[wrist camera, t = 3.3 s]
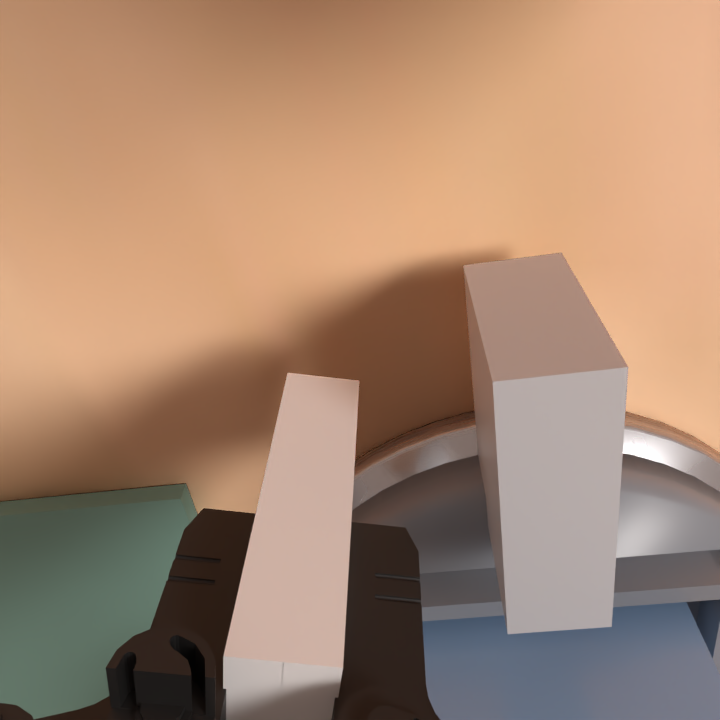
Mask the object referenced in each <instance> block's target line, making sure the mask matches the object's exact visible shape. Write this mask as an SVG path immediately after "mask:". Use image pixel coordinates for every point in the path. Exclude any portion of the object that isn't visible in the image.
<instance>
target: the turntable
mask: <svg viewBox="0 0 720 720" xmlns="http://www.w3.org/2000/svg"><path fill="white" fill-rule="evenodd" d="M463 269H464V282H465V294H466V307H467V320H468V333H469V346H470V359H471V371H472V384H473V397H474V410H475V423H476V436H477V449H478V455H476V456H472V457H468V458H464V459H460V460H456V461H452V462H448V463H445V464H442V465H439V466H436V467H434V468H431V469H428V470H426V471H423V472H420V473H417V474H415V475H412V476H410V477H408V478H406V479H404V480H402V481H400V482H398V483H396V484H394V485H392V486H390V487H388V488H386V489H384V490H382V491H380V492H379V493H377V494H376V495H374V496H373V497H371V498H370V499H368V500H367V501H365V502H364V503H362V504H360V505H359V506H357V507H356V508H355V509H353V510H352V520H351V522H357V523H367V524H377V525H386V526H396V527H406V529H407V531H408V533H409V535H410V537H411V538H412V540H413V542H414V544H415V546H416V548H417V549H418V551H419V568H420V586H421V604H422V621H435V620H448V619H462V618H475V617H489V616H502V615H504V617H505V623H506V628H507V634H518V633H532V632H546V631H560V630H574V629H588V628H602V627H612V614H613V607H624V606H638V605H652V604H665V603H679V602H687V604H688V607H689V609H690V611H691V613H692V615H693V617H694V620H695V622H696V624H697V626H698V628H699V630H700V633H701V635H702V637H703V639H704V641H705V643H706V646H707V648H708V650H709V652H710V654H711V656H712V658H713V661H714V663H715V665H716V667H717V669H718V671H719V674H720V492H719V491H718V490H716V489H714V488H713V487H711V486H709V485H708V484H706V483H704V482H703V481H701V480H699V479H698V478H696V477H694V476H692V475H690V474H687V473H685V472H682V471H680V470H678V469H675V468H673V467H671V466H668V465H666V464H663V463H659V462H656V461H652V460H649V459H645V458H642V457H638V456H635V455H631V454H625V453H623V441H624V425H625V409H626V393H627V378H628V366H627V364H626V363H625V361H624V359H623V357H622V356H621V354H620V352H619V351H618V349H617V347H616V345H615V344H614V342H613V340H612V338H611V337H610V335H609V333H608V332H607V330H606V328H605V326H604V325H603V323H602V321H601V320H600V318H599V316H598V314H597V313H596V311H595V309H594V308H593V306H592V304H591V302H590V301H589V299H588V297H587V296H586V294H585V292H584V290H583V289H582V287H581V285H580V284H579V282H578V280H577V278H576V277H575V275H574V273H573V271H572V270H571V268H570V266H569V265H568V263H567V261H566V259H565V258H564V256H563V254H562V253H556V254H548V255H540V256H532V257H524V258H516V259H508V260H500V261H492V262H485V263H477V264H469V265H463Z"/></svg>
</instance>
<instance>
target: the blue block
mask: <svg viewBox="0 0 720 720" xmlns="http://www.w3.org/2000/svg"><path fill="white" fill-rule="evenodd" d="M422 622H423V639H424V657H425V675H426V687H427V692H428V698H429V700H430V702H431V705H432V707H433V709H434V711H435V713H436V714H437V716H438V717H439V718H440V720H720V674H719V671H718V669H717V667H716V665H715V663H714V661H713V658H712V656H711V654H710V652H709V650H708V648H707V646H706V643H705V641H704V639H703V637H702V635H701V633H700V630H699V628H698V626H697V624H696V622H695V620H694V617H693V615H692V613H691V611H690V609H689V607H688V604H687V602H679V603H665V604H652V605H638V606H624V607H613V614H612V627H602V628H588V629H574V630H560V631H546V632H532V633H518V634H507V628H506V623H505V617H504V615H502V616H489V617H475V618H462V619H448V620H435V621H422Z"/></svg>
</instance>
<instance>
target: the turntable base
mask: <svg viewBox="0 0 720 720" xmlns="http://www.w3.org/2000/svg"><path fill="white" fill-rule="evenodd" d="M623 453H625V454H631V455H635V456H638V457H642V458H645V459H649V460H652V461H656V462H659V463H663V464H666V465H668V466H671V467H673V468H675V469H678V470H680V471H682V472H685V473H687V474H690V475H692V476H694V477H696V478H698V479H699V480H701V481H703V482H704V483H706V484H708V485H709V486H711V487H713V488H714V489H716V490H718V491H719V492H720V453H719V452H718V451H716V450H714V449H713V448H711V447H710V446H708V445H706V444H705V443H703V442H702V441H700V440H698V439H697V438H695V437H694V436H692V435H690V434H687V433H685V432H683V431H680V430H678V429H676V428H674V427H671V426H669V425H667V424H665V423H662V422H659V421H656V420H653V419H649V418H646V417H642V416H639V415H635V414H632V413H629V412H625V425H624V441H623ZM476 455H478V449H477V436H476V423H475V411H474V412H469V413H466V414H462V415H458V416H454V417H451V418H447V419H443V420H439V421H436V422H433V423H431V424H428V425H425V426H423V427H420V428H418V429H415V430H412V431H410V432H407V433H405V434H402V435H400V436H398V437H396V438H394V439H392V440H390V441H388V442H387V443H385V444H383V445H381V446H379V447H377V448H375V449H373V450H371V451H370V452H368V453H367V454H365V455H364V456H362V457H361V458H359V459H358V460H357V461H355V467H354V485H353V502H352V510H353V509H355V508H356V507H357V506H359V505H360V504H362V503H364V502H365V501H367V500H368V499H370V498H371V497H373V496H374V495H376V494H377V493H379V492H380V491H382V490H384V489H386V488H388V487H390V486H392V485H394V484H396V483H398V482H400V481H402V480H404V479H406V478H408V477H410V476H412V475H415V474H417V473H420V472H423V471H426V470H428V469H431V468H434V467H436V466H439V465H442V464H445V463H448V462H452V461H456V460H460V459H464V458H468V457H472V456H476Z"/></svg>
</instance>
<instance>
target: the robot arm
mask: <svg viewBox="0 0 720 720" xmlns="http://www.w3.org/2000/svg"><path fill="white" fill-rule="evenodd" d="M358 397H359V380H350V379H341V378H332V377H323V376H314V375H305V374H296V373H287V377H286V382H285V386H284V391H283V395H282V400H281V404H280V408H279V413H278V417H277V422H276V426H275V430H274V435H273V439H272V444H271V448H270V453H269V457H268V461H267V466H266V470H265V475H264V479H263V483H262V488H261V492H260V497H259V501H258V506H257V510H256V514H254V513H244V512H234V511H225V510H215V509H205V508H204V509H203V510H202V511H201V512H200V513H199V514H198V515H197V516H196V517H195V518H194V519H193V520H192V521H191V522H190V523H189V525H188V526H187V527H186V528H185V529H184V531H183V534H182V537H181V540H180V543H179V546H178V549H177V552H176V556H175V560H173V563H172V566H171V569H170V572H169V575H168V581H166V584H165V587H164V590H163V593H162V595H161V598H160V601H159V604H158V607H157V610H156V613H155V616H154V619H153V622H152V625H151V628H150V629H149V630H147V631H144V632H142V633H139V634H137V635H134V636H133V637H131V638H130V639H129V640H128V641H127V642H125V643H124V644H123V645H122V646H120V647H119V648H118V649H117V650H116V652H115V653H114V655H113V657H112V658H111V660H110V661H109V663H108V665H107V666H106V674H107V681H108V689H109V696H108V697H106V698H105V699H103V700H101V701H99V702H97V703H96V704H93V705H90V706H87V707H84V708H81V709H78V710H74V711H69V712H65V713H60V714H56V715H51V716H47V717H42V718H38V719H33V717H32V715H31V714H29V713H28V712H26V711H25V710H23V709H22V708H20V707H19V706H17V705H13V704H5V703H0V720H440V718H439V717H438V716H437V714H436V713H435V711H434V709H433V707H432V705H431V702H430V700H429V698H428V692H427V687H426V675H425V657H424V639H423V622H422V604H421V586H420V568H419V551H418V549H417V548H416V546H415V544H414V542H413V540H412V538H411V537H410V535H409V533H408V531H407V529H406V527H396V526H386V525H377V524H367V523H357V522H351V520H352V502H353V485H354V467H355V450H356V432H357V415H358Z"/></svg>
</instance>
